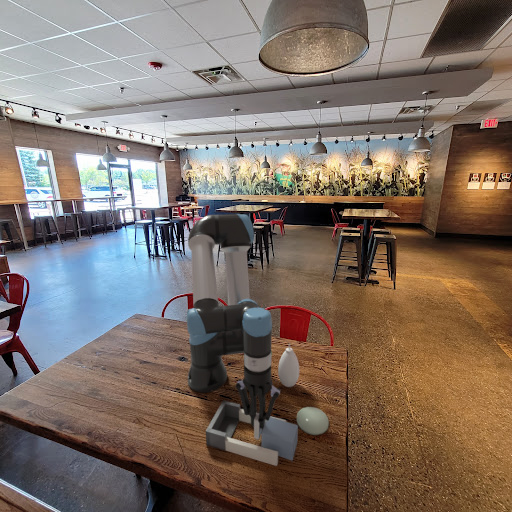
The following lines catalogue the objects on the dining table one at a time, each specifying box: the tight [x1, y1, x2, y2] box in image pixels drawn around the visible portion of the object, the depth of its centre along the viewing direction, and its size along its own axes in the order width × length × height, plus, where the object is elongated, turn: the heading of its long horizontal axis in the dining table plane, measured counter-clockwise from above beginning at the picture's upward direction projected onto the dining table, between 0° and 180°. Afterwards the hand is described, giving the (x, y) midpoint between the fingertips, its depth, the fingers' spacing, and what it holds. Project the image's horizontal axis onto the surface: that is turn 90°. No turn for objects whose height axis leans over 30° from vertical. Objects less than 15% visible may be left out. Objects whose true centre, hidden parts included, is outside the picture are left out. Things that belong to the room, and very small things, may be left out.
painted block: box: [261, 416, 299, 462], centre depth 77 cm, size 9×6×6 cm, turn 69°
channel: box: [225, 408, 287, 467], centre depth 79 cm, size 15×12×4 cm
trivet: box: [296, 406, 330, 436], centre depth 86 cm, size 10×10×1 cm
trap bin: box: [205, 399, 241, 452], centre depth 82 cm, size 6×12×5 cm, turn 162°
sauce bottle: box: [277, 342, 300, 388], centre depth 100 cm, size 8×8×18 cm
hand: (258, 435), depth 79 cm, fingers closed
